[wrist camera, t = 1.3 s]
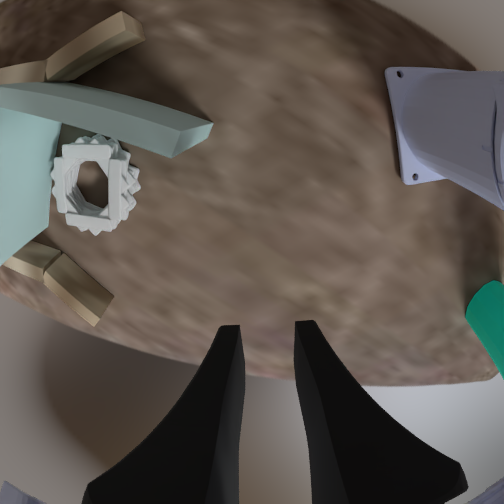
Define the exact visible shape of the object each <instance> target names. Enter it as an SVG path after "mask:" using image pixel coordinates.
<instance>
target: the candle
mask: <svg viewBox="0 0 504 504" xmlns="http://www.w3.org/2000/svg"><path fill="white" fill-rule="evenodd" d="M465 318H466V320H467V322H468V323H469V325H470V326H471V328H472V329H473V331H474V332H475V334H476V335H477V337H478V338H479V340H480V341H481V343H482V344H483V346H484V347H485V349H486V350H487V352H488V354H489V355H490V357H491V358H492V360H493V362H494V363H495V365H496V367H497V369H498V370H499V372H500V374H501V375H502V377H503V379H504V285H503V284H502V283H501V282H499V281H495V280H493V281H491V282H489V283H487V284H485V285H484V286H483V287H482V288H481V289H480V290H479V291H478V292H477V293H476V294H475V295H474V296H473V298H472V300H471V302H470V303H469V305H468V306H467V311H466V315H465Z"/></svg>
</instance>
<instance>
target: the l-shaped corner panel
mask: <svg viewBox="0 0 504 504" xmlns="http://www.w3.org/2000/svg"><path fill="white" fill-rule="evenodd" d="M62 123H64V124H68V125H71V126H75V127H78V128H81V129H85V130H88V131H91V132H95V133H98V134H96V135H95V136H93V137H92V138H90V137H87V136H84V137H79V138H78V139H77V140H76V141H75V143H70V144H63V145H62V156H61V157H56V158H55V156H56V150H57V145H58V140H59V135H60V130H61V126H62ZM212 126H213V123H212V122H210V121H207V120H204V119H201V118H198V117H196V116H193V115H190V114H187V113H184V112H181V111H178V110H175V109H172V108H169V107H165V106H162V105H159V104H156V103H152V102H149V101H145V100H142V99H138V98H135V97H131V96H127V95H123V94H119V93H115V92H111V91H107V90H103V89H98V88H94V87H89V86H84V85H79V84H74V83H69V82H27V83H12V84H2V85H0V266H1V265H2V264H3V263H4V262H5V261H7V260H8V259H9V258H10V257H11V256H12V255H13V254H15V253H16V252H17V251H18V250H19V249H21V248H22V247H23V246H24V245H25V244H27V243H28V242H29V241H30V240H32V239H33V238H34V237H35V236H37V235H38V234H39V233H41V232H42V231H43V230H44V229H46V228H47V227H48V222H49V205H50V194H51V184H52V179H53V180H54V181H55V186H54V187H53V189H52V193H53V195H54V196H55V198H56V200H57V210H58V212H60V213H66V215H65V216H66V222H67V224H68V225H72V226H77V227H78V228H79V230H80V231H84V230H85V231H86V230H87V229H89V230H90V231H91V232H92V233H93V234H94V235H95V236H96V235H97V234H99V233H100V232H101V231H102V230H103V231H109V232H111V231H112V229H115V228H116V227H117V224H118V223H119V222H120V221H121V220H126V219H127V218H128V214H129V212H128V211H130V210H132V209H133V208H134V206H135V205H136V200H135V199H134V197H133V196H132V195H133V193H135V192H137V191H138V190H140V189H141V186H140V184H139V182H138V180H137V178H138V174H139V169H138V168H137V167H134V166H131V165H130V164H129V160H130V153H129V152H126V151H124V150H122V148H121V146H120V144H119V142H118V140H120V141H123V142H126V143H129V144H132V145H135V146H138V147H141V148H144V149H146V150H149V151H152V152H155V153H158V154H161V155H163V156H166V157H169V158H173V157H174V156H176V155H178V154H180V153H181V152H183V151H185V150H187V149H189V148H190V147H192V146H194V145H196V144H198V143H200V142H201V141H203V140H205V139H207V138H208V135H209V133H210V131H211V128H212ZM101 135H104V136H107V137H111V139H109V140H106V139H105V137H104V136H101ZM84 161H97V163H98V164H99V166H100V167H101V169H102V170H103V171H104V173H105V174H106V176H107V177H108V205H107V206H106V207H105V208H100V207H98V206H95V205H93V204H91V203H88V202H86V201H85V199H84V197H83V195H82V194H81V192H80V190H79V188H78V186H77V185H76V182H77V177H78V172H79V167H80V164H82V163H83V162H84Z"/></svg>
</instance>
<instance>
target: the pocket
mask: <svg viewBox="0 0 504 504" xmlns="http://www.w3.org/2000/svg"><path fill="white" fill-rule="evenodd" d="M145 40H146V39H145V35H144V31H143V28H142V24H141V22H139V21H137V20H136V19H134V18H132V17H131V16H129V15H128V14H126V13H124V12H122V11H120V12H118V13H116V14H115V15H113V16H111V17H109V18H107V19H106V20H104V21H102V22H100V23H99V24H97V25H95V26H94V27H92V28H90V29H89V30H87V31H86V32H84V33H83V34H81V35H79V36H78V37H76V38H75V39H74V40H72V41H71V42H69V43H68V44H66V45H65V46H64V47H62V48H61V49H59V50H58V51H57V52H55V53H54V54H53V55H52V56H50V57H49V58H48V59H46V60H42V61H35V62H29V63H23V64H18V65H13V66H9V67H4V68H0V85H2V84H12V83H27V82H69V80H74V79H76V78H77V77H79V76H81V75H82V74H84V73H85V72H87V71H88V70H90V69H92V68H93V67H95V66H97V65H98V64H100V63H102V62H104V61H105V60H107V59H109V58H111V57H113V56H115V55H116V54H118V53H120V52H122V51H124V50H126V49H128V48H130V47H132V46H134V45H136V44H139V43H141V42H143V41H145ZM2 265H4V266H6V267H9V268H11V269H13V270H15V271H17V272H19V273H21V274H24V275H26V276H28V277H30V278H33V279H35V280H37V281H40V282H42V283H44V284H45V285H46V286H47V287H48V288H49V289H50V290H51V291H52V292H53V293H54V294H55V295H57V296H58V297H59V298H60V299H61V300H62V301H63V302H64V303H66V304H67V305H68V306H69V307H70V308H71V309H73V310H74V311H75V312H76V313H77V314H79V315H80V316H81V317H82V318H83V319H85V320H86V321H87V322H88V323H90V324H91V325H92V326H95V325H96V324H97V322H98V321H99V320H100V318H101V317H102V315H103V313H104V312H105V310H106V308H107V307H108V305H109V304H110V302H111V301H112V299H113V297H114V296H113V295H112V294H110V293H109V292H108V291H107V290H106V289H104V288H103V287H102V286H101V285H100V284H98V283H97V282H96V281H95V280H94V279H93V278H91V277H90V276H89V275H88V274H87V273H86V272H85V271H83V270H82V269H81V268H80V267H79V266H78V265H77V264H76V263H75V262H73V261H72V260H71V259H70V258H69V257H68V256H67V255H66V254H65V253H63V254H62V255H61V251H60V250H57V249H54V248H51V247H49V246H46V245H43V244H40V243H37V242H34V241H32V240H30V241H29V242H28V243H27V244H25V245H24V246H23V247H22V248H21V249H19V250H18V251H17V252H16V253H15V254H13V255H12V256H11V257H10V258H9V259H8V260H7V261H5V262H4V263H3V264H2Z"/></svg>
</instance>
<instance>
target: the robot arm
mask: <svg viewBox="0 0 504 504" xmlns="http://www.w3.org/2000/svg"><path fill="white" fill-rule="evenodd" d="M397 71H399V72H400V74H401V77H400V78H399V77H398V76H397ZM385 78H386V83H387V87H388V92H389V96H390V101H391V106H392V112H393V118H394V124H395V130H396V137H397V144H398V152H399V161H400V171H401V179H402V181H403V183H405V184H407V185H412V184H418V183H423V182H429V181H435V180H441V179H449V180H451V181H453V182H455V183H457V184H459V185H461V186H463V187H464V188H466V189H468V190H470V191H472V192H473V193H475V194H477V195H479V196H480V197H482V198H484V199H486V200H487V201H489V202H491V203H492V204H494V205H495V206H497V207H499V208H500V209H502V210H503V211H504V71H461V70H452V69H441V68H425V67H389V68H387V69H386V70H385ZM413 174H416V177H415V179H413V178H412V176H413ZM294 369H295V379H296V387H297V392H298V397H299V402H300V406H301V411H302V416H303V421H304V425H305V430H306V435H307V441H308V448H309V460H310V473H311V488H312V504H444V503H445V502H447V501H449V500H451V499H453V498H455V497H457V496H459V495H460V494H462V493H464V492H465V491H467V489H468V484H467V480H466V477H465V474H464V471H463V469H462V467H461V465H460V463H459V462H457V461H455V460H453V459H451V458H449V457H447V456H446V455H444V454H442V453H440V452H439V451H437V450H435V449H434V448H432V447H431V446H429V445H428V444H426V443H425V442H423V441H422V440H420V439H419V438H417V437H416V436H415V435H414V434H412V433H411V432H410V431H408V430H407V429H406V428H405V427H403V426H402V425H401V424H399V423H398V422H397V421H396V420H395V419H393V418H392V417H391V416H390V415H389V414H388V413H387V412H386V411H385V410H384V409H383V408H381V407H380V406H379V405H378V404H377V403H376V402H375V401H374V400H373V399H372V397H371V396H370V395H369V394H368V393H367V392H366V391H365V390H364V389H363V388H362V387H361V385H360V384H359V383H358V382H357V381H356V379H355V378H354V377H353V376H352V375H351V373H350V372H349V371H348V370H347V368H346V367H345V366H344V364H343V363H342V362H341V360H340V359H339V358H338V356H337V355H336V354H335V352H334V351H333V349H332V348H331V346H330V345H329V343H328V342H327V340H326V339H325V337H324V335H323V334H322V332H321V330H320V329H319V327H318V325H317V323H316V322H315V321H314V320H307V321H295V341H294ZM244 395H245V359H244V353H243V346H242V339H241V332H240V325H224V326H221V327H220V328H219V329H218V331H217V334H216V336H215V338H214V341H213V343H212V345H211V347H210V349H209V351H208V353H207V355H206V357H205V358H204V360H203V362H202V364H201V365H200V367H199V369H198V371H197V372H196V374H195V376H194V377H193V379H192V380H191V382H190V383H189V385H188V386H187V388H186V389H185V391H184V392H183V394H182V395H181V397H180V398H179V400H178V401H177V402H176V404H175V405H174V406H173V408H172V409H171V410H170V411H169V413H168V414H167V415H166V416H165V417H164V419H163V420H162V421H161V422H160V423H159V424H158V425H157V427H156V428H155V429H154V430H153V431H152V432H151V433H150V434H149V435H148V436H147V437H146V438H145V439H144V440H143V441H142V442H141V443H140V444H139V445H138V446H137V447H136V448H135V449H133V450H132V451H131V452H130V453H129V454H128V455H127V456H125V457H124V458H123V459H122V460H121V461H120V462H118V463H117V464H116V465H114V466H113V467H112V468H110V469H109V470H108V471H106V472H105V473H103V474H102V475H100V476H99V477H97V478H96V479H95V480H93V481H92V482H90V483H89V484H88V485H87V488H86V491H85V493H84V496H83V500H82V504H239V474H238V473H239V463H238V462H239V461H238V460H239V440H240V431H241V422H242V413H243V404H244ZM0 504H46V503H45V502H43V501H41V500H39V499H37V498H35V497H32V496H30V495H28V494H27V493H25V492H23V491H21V490H20V489H18V488H17V487H15V486H13V485H12V484H10V483H9V482H7V481H4V482H3V486H2V489H1V492H0ZM466 504H504V477H503V478H501V479H500V480H499V481H498V482H496V483H495V484H493V485H492V486H490V487H489V488H487V489H486V490H485V492H483V493H482V494H480V495H479V496H477V497H476V498H474V499H472V500H471V501H469V502H467V503H466Z"/></svg>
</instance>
